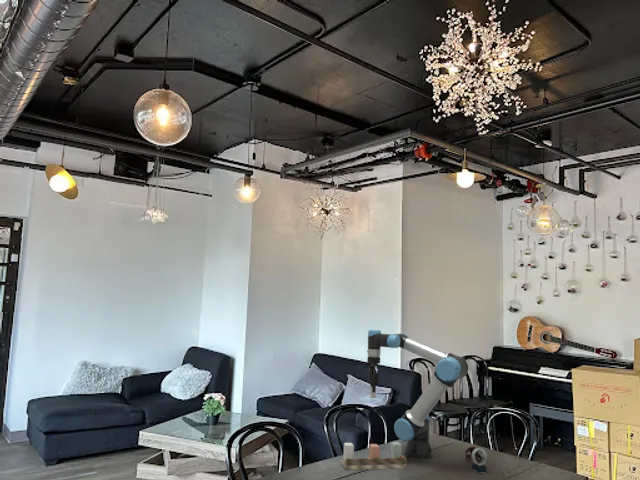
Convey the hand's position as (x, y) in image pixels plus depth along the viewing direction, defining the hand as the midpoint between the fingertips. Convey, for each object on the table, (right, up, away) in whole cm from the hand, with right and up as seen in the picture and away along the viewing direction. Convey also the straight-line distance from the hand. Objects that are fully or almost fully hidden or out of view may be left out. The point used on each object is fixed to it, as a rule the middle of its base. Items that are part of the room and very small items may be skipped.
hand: (373, 397), depth 274 cm
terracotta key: (-3, -23, -30) cm, 38 cm away
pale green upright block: (+9, -24, -25) cm, 36 cm away
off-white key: (-16, -22, -30) cm, 41 cm away
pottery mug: (+54, -30, -14) cm, 64 cm away
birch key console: (-3, -25, -30) cm, 39 cm away
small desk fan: (+51, -27, -32) cm, 66 cm away
